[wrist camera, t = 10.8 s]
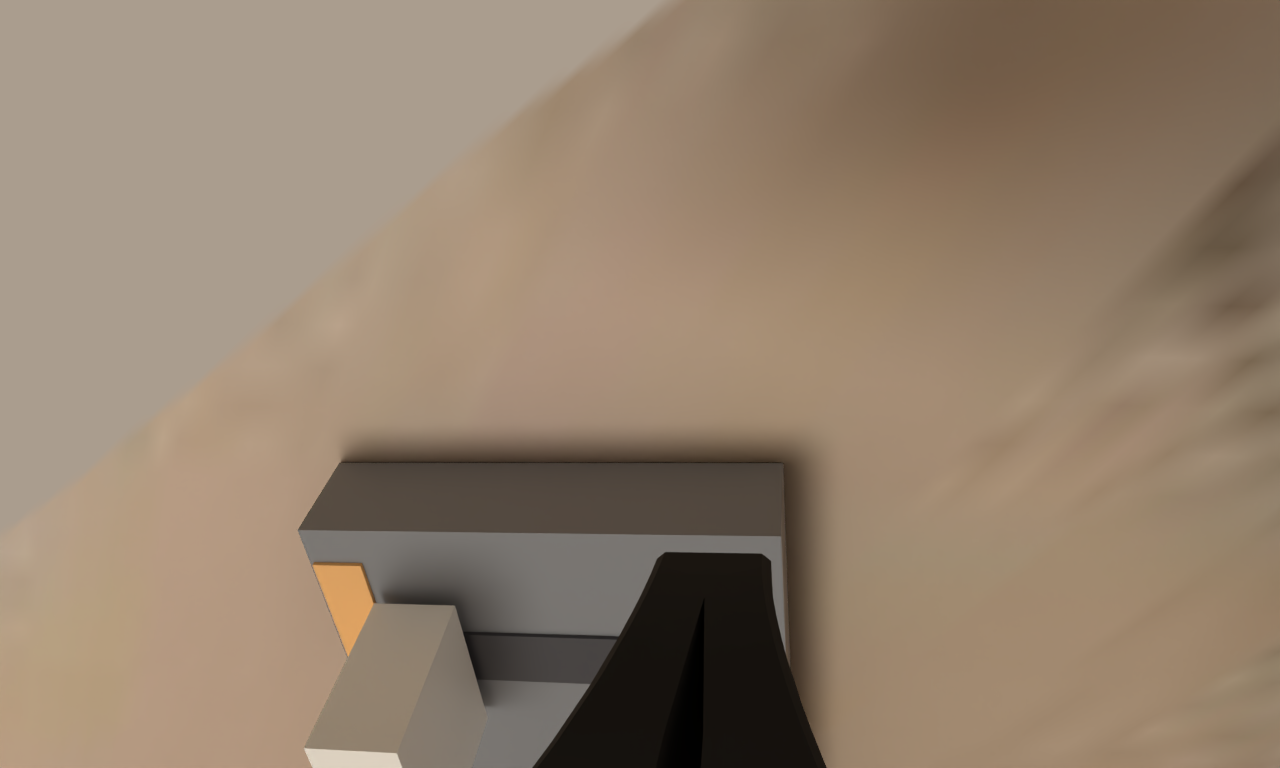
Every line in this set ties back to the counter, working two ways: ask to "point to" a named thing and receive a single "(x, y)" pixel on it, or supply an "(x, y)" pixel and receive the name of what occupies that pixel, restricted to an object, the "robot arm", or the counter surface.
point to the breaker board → (532, 563)
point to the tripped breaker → (403, 695)
